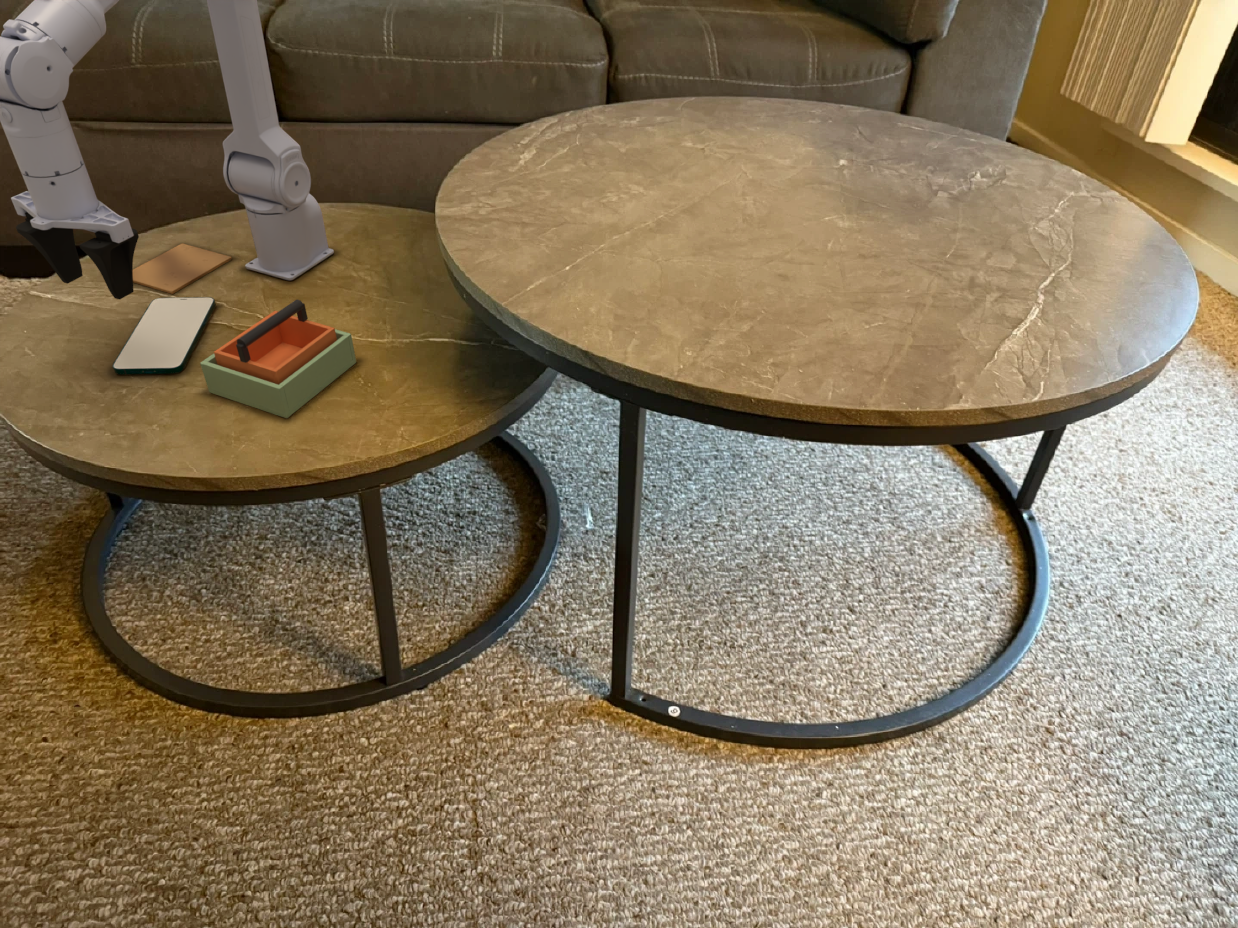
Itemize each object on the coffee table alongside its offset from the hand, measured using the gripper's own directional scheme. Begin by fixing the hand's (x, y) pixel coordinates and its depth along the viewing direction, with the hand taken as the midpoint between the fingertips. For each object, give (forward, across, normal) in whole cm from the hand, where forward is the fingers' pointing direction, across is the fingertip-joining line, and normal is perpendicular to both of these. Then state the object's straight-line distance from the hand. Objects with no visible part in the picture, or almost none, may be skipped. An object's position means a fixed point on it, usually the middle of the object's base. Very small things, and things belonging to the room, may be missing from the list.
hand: (98, 287), depth 100 cm
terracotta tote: (+10, +18, +6) cm, 21 cm away
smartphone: (+10, 0, +6) cm, 12 cm away
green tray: (+10, +18, +6) cm, 21 cm away
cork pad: (+10, -12, +20) cm, 25 cm away
